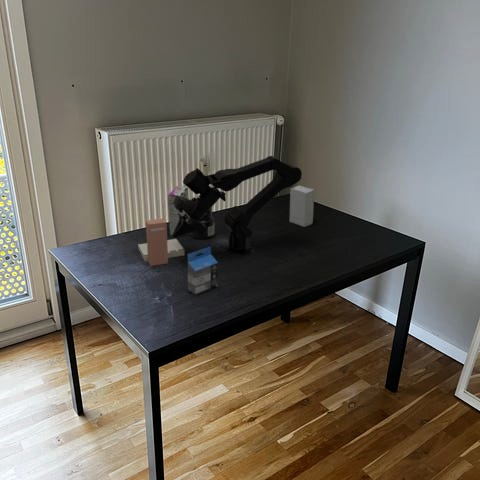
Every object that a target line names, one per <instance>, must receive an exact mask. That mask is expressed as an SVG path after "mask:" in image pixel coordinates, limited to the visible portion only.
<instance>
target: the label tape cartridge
mask: <svg viewBox="0 0 480 480" xmlns="http://www.w3.org/2000/svg"><path fill="white" fill-rule="evenodd" d="M211 249H212V248H211V246H208V247H205V248H201V249H199V250H196V251H193V252H190V253H187V291H189V292H190V293H192V294H193V295H198V294H201V293H203V292H205V291H209V290H211V289H213V288H215V287H218V286H219V282H218V281H219V277H218V276H219V262H218V261H217V260H216V258H215V257H214V255H212V252H211ZM199 254H200V255H199Z"/></svg>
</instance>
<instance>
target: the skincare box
mask: <svg viewBox="0 0 480 480" xmlns="http://www.w3.org/2000/svg"><path fill="white" fill-rule="evenodd" d="M289 199H290V200H289V220H288V221H289V223H292V224H295V225H298V226H300V227H303V228H305V227H307V226H311V225H312V224H313V221H314V205H315V204H314V203H315V189H313V188H311V187H310V188H309V187H306V186H303V185H297V186H294V187H292V188H291V187H290V195H289Z"/></svg>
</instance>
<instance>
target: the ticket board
mask: <svg viewBox="0 0 480 480" xmlns="http://www.w3.org/2000/svg"><path fill="white" fill-rule="evenodd" d="M137 245H138V246H137V247H138V251H139V253H140V255H141V257H142V259H143V261H144V262H145V263H146V262H148V251H147V242H146V243H138V244H137ZM167 247H168V259H170V258H177V257H182V256H185V255H186V254H185V249H184V247H183V245H181V243H180V242H179V240H178V239H177V238H173V239H167Z"/></svg>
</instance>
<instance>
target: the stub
mask: <svg viewBox="0 0 480 480" xmlns="http://www.w3.org/2000/svg"><path fill="white" fill-rule="evenodd" d="M167 224H168V223H167V221H166V219H165V218H156V219H149V220H145V231H146V243H147V251H148V261H147V263H148V264H149V266H150V267H154V266H160V265H165V264H169V258H168V247H167V240H168V228H167V227H168V225H167Z"/></svg>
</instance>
